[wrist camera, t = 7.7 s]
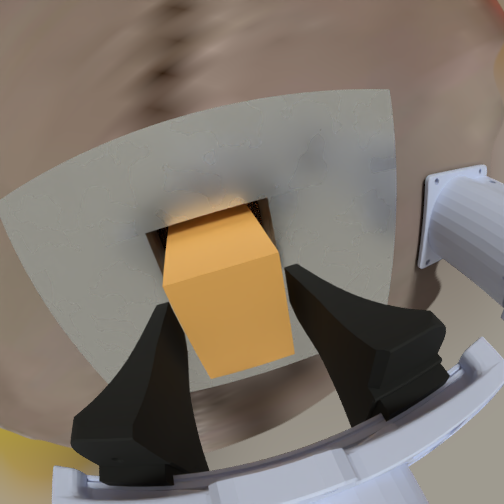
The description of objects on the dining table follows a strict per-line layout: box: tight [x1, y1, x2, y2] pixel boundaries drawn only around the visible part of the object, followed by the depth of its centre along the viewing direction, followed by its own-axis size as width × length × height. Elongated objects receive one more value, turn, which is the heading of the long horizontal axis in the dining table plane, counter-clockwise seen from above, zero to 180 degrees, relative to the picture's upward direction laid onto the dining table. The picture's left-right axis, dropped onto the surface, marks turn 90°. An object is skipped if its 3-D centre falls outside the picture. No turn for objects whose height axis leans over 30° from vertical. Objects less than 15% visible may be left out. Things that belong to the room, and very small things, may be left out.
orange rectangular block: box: [162, 203, 295, 379], centre depth 13 cm, size 4×6×6 cm
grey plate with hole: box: [0, 89, 396, 392], centre depth 14 cm, size 20×16×2 cm
